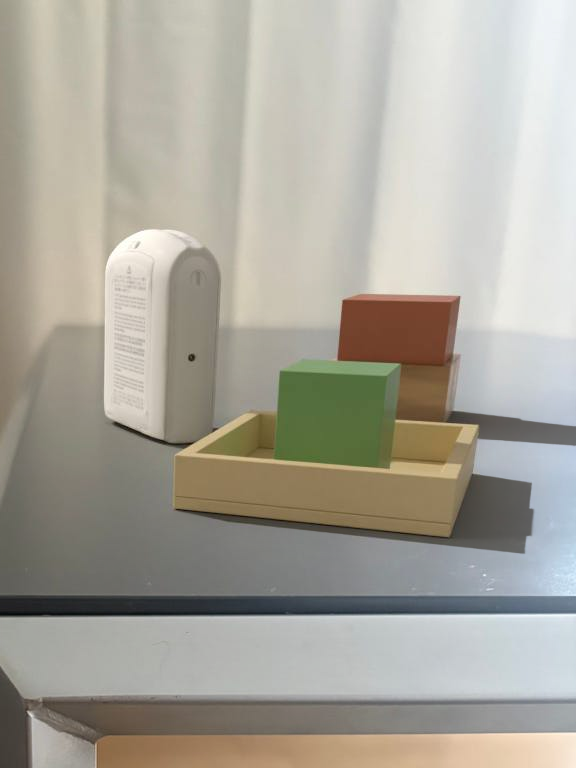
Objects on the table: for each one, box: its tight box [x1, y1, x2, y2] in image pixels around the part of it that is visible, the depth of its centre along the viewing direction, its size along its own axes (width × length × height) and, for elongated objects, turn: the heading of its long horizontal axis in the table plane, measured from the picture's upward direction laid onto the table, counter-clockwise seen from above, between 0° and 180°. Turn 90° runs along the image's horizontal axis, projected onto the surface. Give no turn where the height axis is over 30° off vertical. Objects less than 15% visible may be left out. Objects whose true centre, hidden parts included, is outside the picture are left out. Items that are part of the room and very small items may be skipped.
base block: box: [331, 353, 462, 423], centre depth 71 cm, size 8×8×4 cm
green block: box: [274, 358, 401, 469], centre depth 50 cm, size 5×5×6 cm
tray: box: [172, 409, 480, 538], centre depth 50 cm, size 14×13×3 cm
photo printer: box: [103, 228, 222, 444], centre depth 64 cm, size 10×4×12 cm, turn 23°
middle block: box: [336, 293, 462, 366], centre depth 69 cm, size 7×7×4 cm
